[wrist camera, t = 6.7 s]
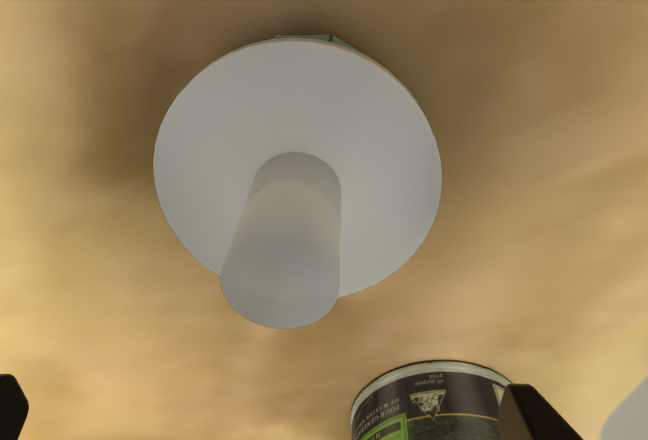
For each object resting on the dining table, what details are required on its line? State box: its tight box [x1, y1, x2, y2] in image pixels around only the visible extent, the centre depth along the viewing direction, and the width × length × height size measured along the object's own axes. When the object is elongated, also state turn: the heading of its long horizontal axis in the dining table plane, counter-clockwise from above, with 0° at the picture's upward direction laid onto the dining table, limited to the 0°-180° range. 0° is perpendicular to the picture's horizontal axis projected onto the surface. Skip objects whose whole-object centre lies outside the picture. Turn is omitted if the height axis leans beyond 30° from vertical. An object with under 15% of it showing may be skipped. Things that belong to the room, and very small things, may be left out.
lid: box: [153, 37, 442, 329], centre depth 13 cm, size 9×9×5 cm
